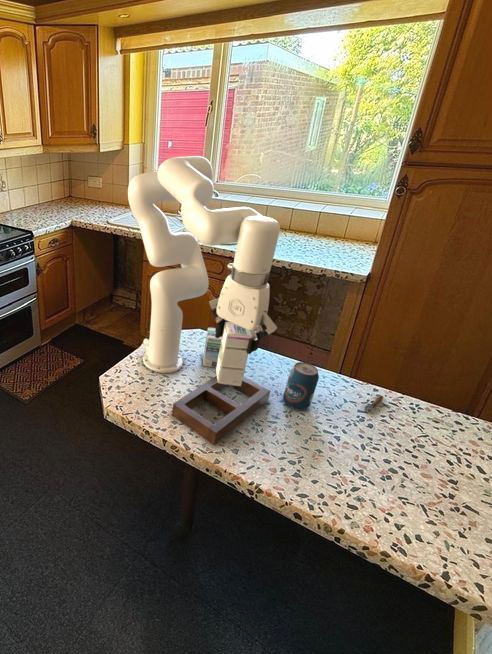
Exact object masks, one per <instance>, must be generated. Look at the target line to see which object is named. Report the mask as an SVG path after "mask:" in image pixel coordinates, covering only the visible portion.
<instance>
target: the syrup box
mask: <svg viewBox="0 0 492 654" xmlns="http://www.w3.org/2000/svg"><path fill="white" fill-rule="evenodd" d="M250 338H252V335H251V332H250V330H247V329H245V328H242V327H240V326H238V325H236V324H234V323H231V322H229V321H227V322H225V324H224V329H223V334H222V340H221V345H220V351H219V356H218V361H217V367H216V368H215V374H216V376H217V382H218V383H220V384H226V385H227V386H230V385H234V386H241V384H242V380H243V376H244V375H245V370H246V366H247V362H248V357H249V354H248V353H247V352H246V351H247V347H248V343H249V339H250ZM244 377H245V376H244Z"/></svg>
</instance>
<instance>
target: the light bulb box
mask: <svg viewBox="0 0 492 654" xmlns="http://www.w3.org/2000/svg"><path fill="white" fill-rule="evenodd" d="M215 330H216V327H207V331H206V336H205V342H204V348H203V356H202V357H203V358H202V366H204V367H210V368H215V369H216V367H217V361H218V356H219V351H220V345H221V340H222V336H221V337H219V338H216V337H215V335H216V332H215Z"/></svg>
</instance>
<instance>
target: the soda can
mask: <svg viewBox="0 0 492 654" xmlns="http://www.w3.org/2000/svg"><path fill="white" fill-rule="evenodd" d="M319 379H320V375H319V370H318V368H317V367H316V366H315V365H313V364H312V363H309V362H304V361H299V362H296V363H295V364H294V365H293V366H292V367H291V368H290V370H289V374H288V377H287V381H286V384H285V388H284V392H283V395H282V396H283V397H282V398H283V401H284V403H285V404H286V405H287V407H289V408H290V409H293V410H296V411H304V410H306V409H308V408H309V407H311V404H312V402H313V398H314V394H315V392H316V388H317V385H318V382H319Z"/></svg>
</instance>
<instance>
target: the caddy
mask: <svg viewBox="0 0 492 654" xmlns="http://www.w3.org/2000/svg"><path fill="white" fill-rule="evenodd" d="M227 386H228V385H226V384H220V383H218V382H217V375H215V376H214V377H212V378H211V379H209V380H208V381H206V382H205V383H203V384H201V385H200V386H198V387H197V388H195V389H194V390H192V391H191V392H189V393H188V394H186V395H184V396H183V397H181V398H180V399H178V400H177V401H175V402H173V404H172V411H171V416H172V417H173V418H175V419H176V420H178V421H179V422H181V423H183V424H184V425H185V426H187V427H188V428H189V429H190V430H191V431H193V432H195V433H196V434H198V435H199V436H200V437H202V438H203V439H205V440H206V441H207V442H209V443H210V444H212V445H213V446H214V445H216V444H217V443H219V442H220V441H221V440H222V439H224V438H225V437H226V436H227V435H229V434H230V433H231V432H232V431H234V430H235V429H236V428H237V427H238V426H240V425H241V424H242V423H243V422H245V421H246V420H247V419H248V418H250V417H251V416H252V415H253V414H254V413H256V412H257V411H258V410H260V409H261V408H262V407H263V406H265V405H266V404H267V403H268V402H269V398H270V395H271V390H270V389H268V388H266V387H265V386H262V385H261V384H259V383H257V382H255V381H253V380H252V379H250V378H248V377H246V376H243V380H242V384H241V386H234V385H229V386H230V387H232V388H233V389H235V390H237V391H239V392H240V393H242V394H244V395H246V396H247V397H249V398H247V399H246V400H245V401H244V402H243V403H241V404H240V403H238V402H237V401H235V400H233V399H232V398H230V397H228V396H226V395H225V394H223V393H222V392H220V391H221V390H222V389H225V387H227ZM203 402H206V403H207V404H209V405H210V406H212V407H213V408H215V409H217V410H218V411H220V413H223V414H224V415H225V416H224V417H222V418H221V419H219V421H217V422H216V423H215V424H214V423H212V422H211V421H209V420H207V418H205V417H204V416H202V415H201V414H199V413H197V412H196V411H195V410H194V409H196V407H198V406H199V405H201V404H202V403H203Z"/></svg>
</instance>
